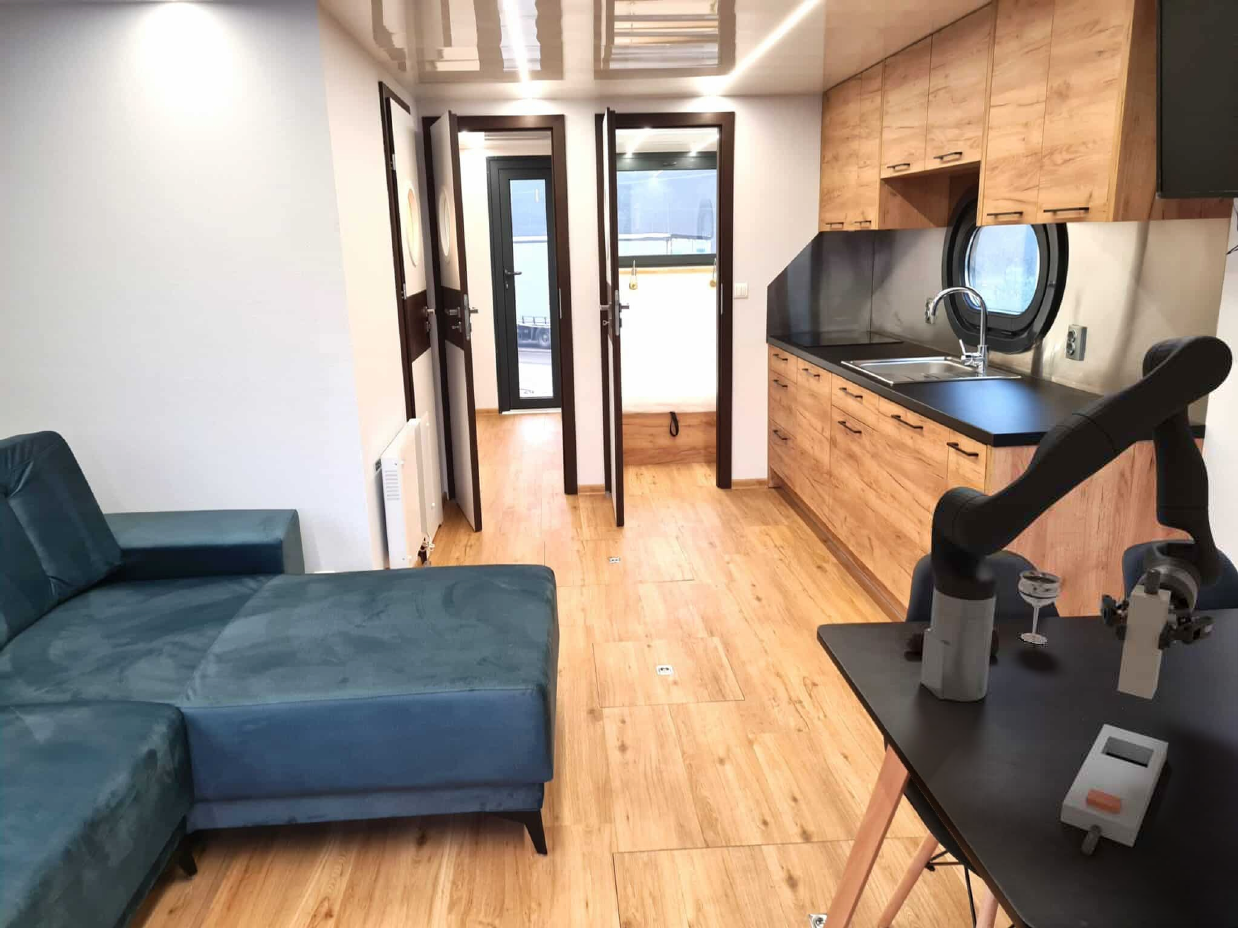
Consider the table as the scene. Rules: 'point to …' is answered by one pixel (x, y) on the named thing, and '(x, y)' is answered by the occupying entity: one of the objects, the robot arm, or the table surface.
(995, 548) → the robot arm
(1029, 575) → the wineglass
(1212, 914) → the table surface
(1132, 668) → the plug
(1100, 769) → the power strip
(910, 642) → the bolt
